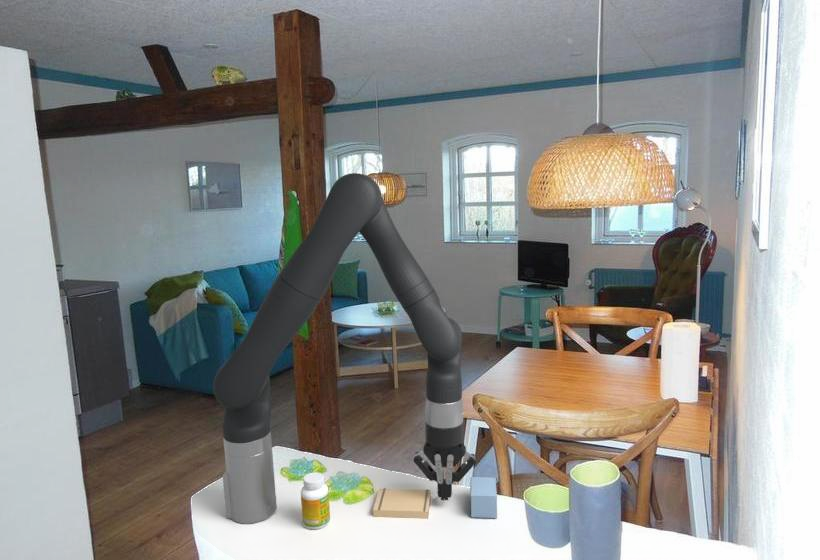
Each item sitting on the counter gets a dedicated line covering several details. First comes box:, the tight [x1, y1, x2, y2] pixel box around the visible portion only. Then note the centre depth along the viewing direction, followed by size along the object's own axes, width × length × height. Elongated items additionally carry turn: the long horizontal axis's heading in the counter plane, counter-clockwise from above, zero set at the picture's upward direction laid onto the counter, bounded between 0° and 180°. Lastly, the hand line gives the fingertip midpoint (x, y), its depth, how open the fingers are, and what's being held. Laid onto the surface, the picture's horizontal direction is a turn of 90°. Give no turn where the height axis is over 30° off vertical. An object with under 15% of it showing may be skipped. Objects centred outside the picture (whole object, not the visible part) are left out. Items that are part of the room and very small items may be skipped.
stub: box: [469, 476, 498, 519], centre depth 120 cm, size 5×7×5 cm
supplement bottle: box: [300, 471, 331, 530], centre depth 117 cm, size 5×5×10 cm
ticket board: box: [372, 487, 432, 519], centre depth 122 cm, size 11×8×2 cm
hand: (444, 498), depth 121 cm, fingers closed
